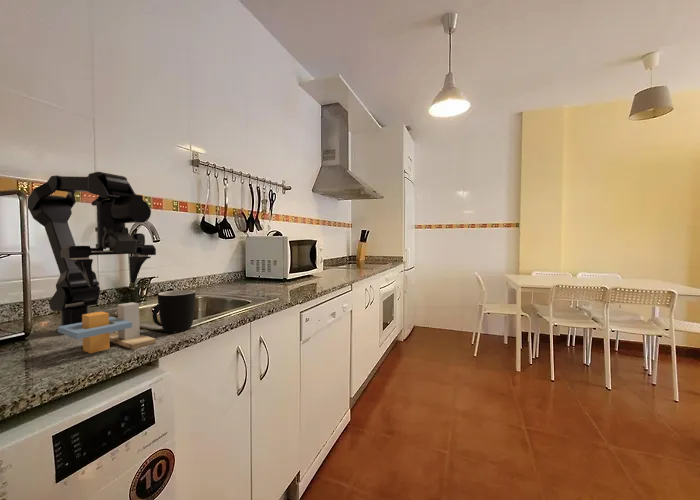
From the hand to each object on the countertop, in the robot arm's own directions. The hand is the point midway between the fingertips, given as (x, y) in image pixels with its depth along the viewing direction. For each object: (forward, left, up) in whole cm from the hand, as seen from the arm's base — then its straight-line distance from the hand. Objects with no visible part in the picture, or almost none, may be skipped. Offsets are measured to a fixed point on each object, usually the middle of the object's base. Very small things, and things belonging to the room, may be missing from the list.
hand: (113, 284), depth 80 cm
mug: (+9, +10, -13) cm, 19 cm away
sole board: (+8, 0, -13) cm, 16 cm away
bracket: (+9, -5, -12) cm, 16 cm away
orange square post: (+8, -7, -13) cm, 17 cm away
